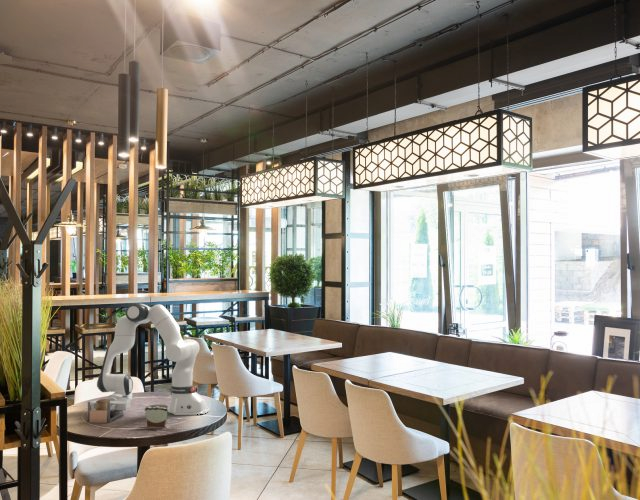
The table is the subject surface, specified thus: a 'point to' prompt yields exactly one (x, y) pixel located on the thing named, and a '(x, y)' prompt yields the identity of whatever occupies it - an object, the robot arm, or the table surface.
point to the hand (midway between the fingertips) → (102, 408)
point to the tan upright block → (102, 404)
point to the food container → (156, 415)
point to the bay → (101, 414)
